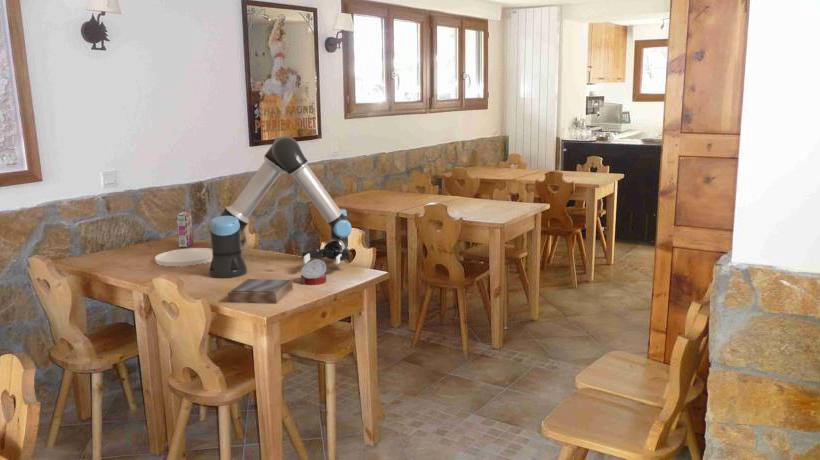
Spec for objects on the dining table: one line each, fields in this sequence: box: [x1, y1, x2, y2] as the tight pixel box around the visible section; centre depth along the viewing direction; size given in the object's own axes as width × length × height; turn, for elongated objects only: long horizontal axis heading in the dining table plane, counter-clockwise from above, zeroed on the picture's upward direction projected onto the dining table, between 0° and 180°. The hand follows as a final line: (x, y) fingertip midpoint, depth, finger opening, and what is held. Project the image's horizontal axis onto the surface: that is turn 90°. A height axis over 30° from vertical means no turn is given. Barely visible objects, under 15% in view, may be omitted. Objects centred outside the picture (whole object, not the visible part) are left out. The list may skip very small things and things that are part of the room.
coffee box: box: [240, 226, 248, 251], centre depth 331 cm, size 9×6×16 cm
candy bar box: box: [176, 211, 194, 249], centre depth 342 cm, size 11×5×16 cm, turn 5°
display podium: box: [227, 278, 294, 304], centre depth 253 cm, size 18×18×4 cm
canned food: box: [300, 258, 327, 286], centre depth 270 cm, size 11×10×10 cm
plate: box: [154, 247, 213, 268], centre depth 314 cm, size 28×28×2 cm
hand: (320, 260), depth 278 cm, fingers open, 13 cm apart
